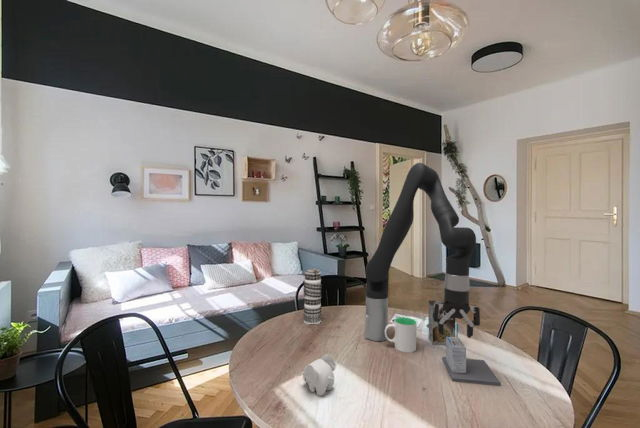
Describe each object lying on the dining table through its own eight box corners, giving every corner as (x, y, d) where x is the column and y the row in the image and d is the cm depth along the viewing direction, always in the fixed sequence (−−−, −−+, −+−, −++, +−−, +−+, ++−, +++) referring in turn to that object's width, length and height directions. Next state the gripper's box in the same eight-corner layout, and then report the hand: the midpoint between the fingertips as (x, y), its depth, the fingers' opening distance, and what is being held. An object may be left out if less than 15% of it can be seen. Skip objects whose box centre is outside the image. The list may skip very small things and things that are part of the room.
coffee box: (450, 339, 125) (450, 300, 125) (455, 346, 119) (456, 305, 119) (427, 338, 126) (428, 299, 126) (431, 344, 120) (432, 304, 120)
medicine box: (466, 374, 97) (466, 347, 97) (451, 373, 98) (452, 346, 97) (458, 361, 105) (459, 337, 105) (445, 360, 105) (445, 336, 105)
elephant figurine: (313, 374, 98) (313, 347, 98) (343, 388, 91) (343, 359, 91) (292, 387, 91) (292, 358, 91) (323, 404, 83) (323, 372, 83)
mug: (386, 351, 114) (386, 324, 114) (383, 342, 122) (383, 316, 122) (418, 352, 113) (418, 325, 113) (413, 343, 121) (413, 317, 121)
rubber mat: (452, 381, 95) (452, 378, 95) (442, 359, 108) (442, 356, 108) (500, 385, 92) (500, 382, 92) (483, 362, 106) (483, 360, 106)
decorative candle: (299, 319, 146) (300, 268, 146) (317, 316, 150) (317, 266, 150) (307, 326, 138) (307, 271, 138) (325, 323, 142) (325, 270, 141)
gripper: (436, 288, 98) (434, 338, 98) (483, 292, 95) (482, 342, 95) (432, 283, 105) (430, 329, 105) (476, 286, 102) (474, 333, 103)
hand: (455, 335), depth 100 cm, fingers open, 8 cm apart
